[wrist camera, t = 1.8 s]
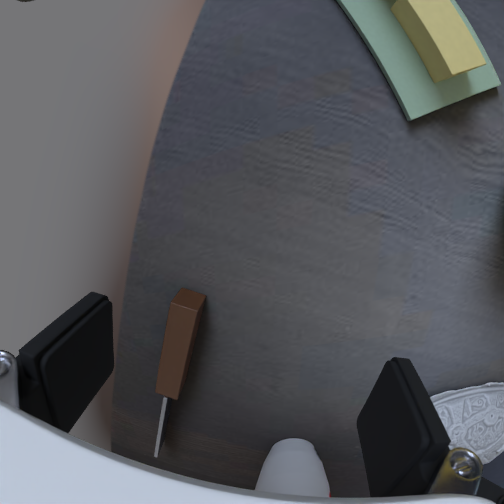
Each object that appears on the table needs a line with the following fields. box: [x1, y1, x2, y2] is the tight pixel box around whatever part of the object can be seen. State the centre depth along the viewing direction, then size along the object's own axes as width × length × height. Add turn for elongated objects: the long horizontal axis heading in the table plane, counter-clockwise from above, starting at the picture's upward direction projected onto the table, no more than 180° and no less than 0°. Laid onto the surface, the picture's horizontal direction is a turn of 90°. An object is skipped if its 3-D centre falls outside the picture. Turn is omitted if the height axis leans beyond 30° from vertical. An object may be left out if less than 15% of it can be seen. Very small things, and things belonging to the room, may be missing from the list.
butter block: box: [391, 0, 486, 83], centre depth 16 cm, size 7×4×3 cm, turn 28°
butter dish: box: [336, 0, 501, 121], centre depth 18 cm, size 16×11×1 cm
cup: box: [255, 438, 331, 497], centre depth 26 cm, size 8×8×10 cm
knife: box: [154, 288, 206, 457], centre depth 28 cm, size 21×2×3 cm, turn 164°
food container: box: [430, 382, 504, 464], centre depth 26 cm, size 16×25×7 cm, turn 81°
